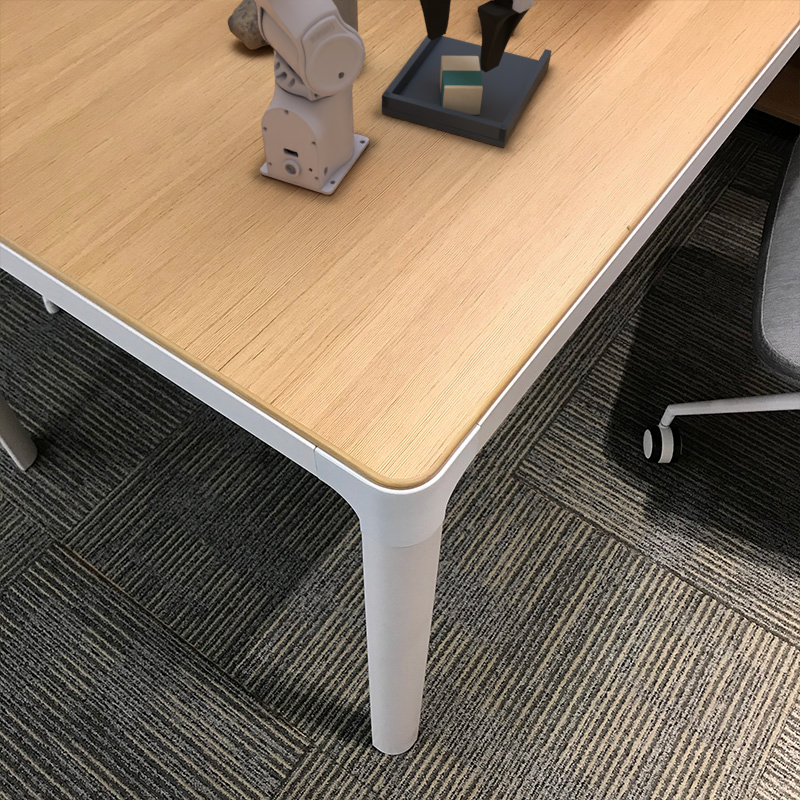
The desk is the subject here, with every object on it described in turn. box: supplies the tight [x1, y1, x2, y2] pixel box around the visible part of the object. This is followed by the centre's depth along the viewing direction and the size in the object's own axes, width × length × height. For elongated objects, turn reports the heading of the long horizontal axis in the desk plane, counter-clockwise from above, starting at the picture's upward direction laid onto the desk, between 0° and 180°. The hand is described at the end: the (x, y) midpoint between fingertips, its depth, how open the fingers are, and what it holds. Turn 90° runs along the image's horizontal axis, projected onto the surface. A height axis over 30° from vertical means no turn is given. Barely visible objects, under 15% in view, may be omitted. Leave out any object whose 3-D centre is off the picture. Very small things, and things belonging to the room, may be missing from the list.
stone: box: [227, 0, 270, 51], centre depth 88 cm, size 10×5×8 cm
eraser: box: [440, 56, 483, 115], centre depth 82 cm, size 4×6×3 cm
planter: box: [332, 0, 359, 33], centre depth 84 cm, size 4×4×10 cm
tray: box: [381, 35, 552, 149], centre depth 85 cm, size 16×14×2 cm
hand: (462, 51), depth 79 cm, fingers open, 7 cm apart
